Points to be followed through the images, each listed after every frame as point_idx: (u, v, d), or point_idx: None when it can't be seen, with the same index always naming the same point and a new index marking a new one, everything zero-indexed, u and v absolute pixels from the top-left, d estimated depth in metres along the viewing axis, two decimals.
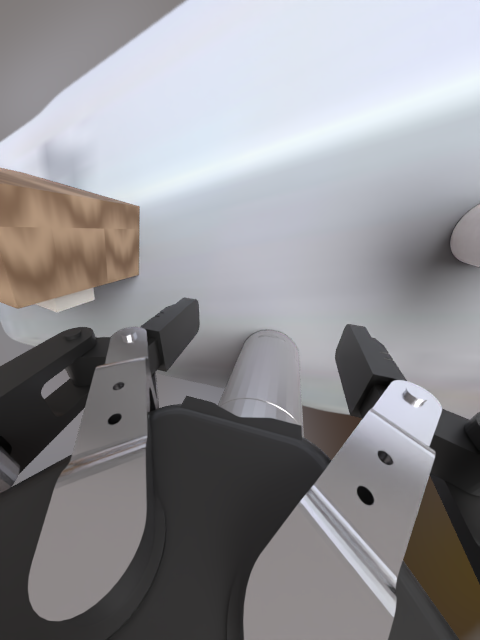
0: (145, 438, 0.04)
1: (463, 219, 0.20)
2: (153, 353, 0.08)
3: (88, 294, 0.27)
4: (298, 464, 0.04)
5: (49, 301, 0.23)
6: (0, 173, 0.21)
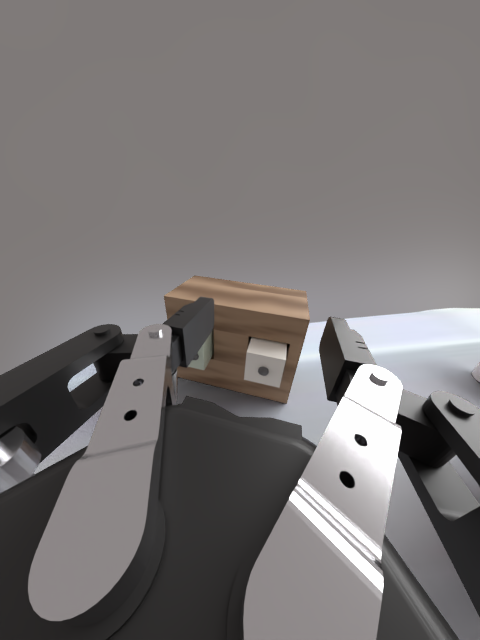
0: (145, 438, 0.04)
1: (475, 375, 0.40)
2: (176, 350, 0.08)
3: None
4: (298, 464, 0.04)
5: (279, 352, 0.25)
6: None
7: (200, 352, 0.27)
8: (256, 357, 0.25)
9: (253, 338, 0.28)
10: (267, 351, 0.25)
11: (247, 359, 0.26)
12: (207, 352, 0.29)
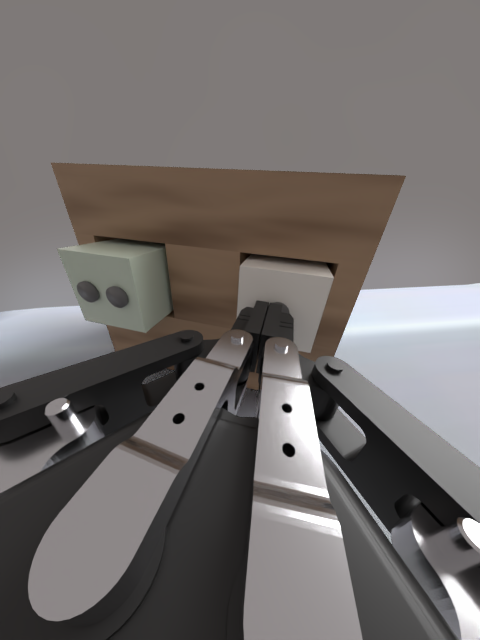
0: (145, 438, 0.04)
1: None
2: (252, 354, 0.08)
3: None
4: None
5: (314, 269, 0.11)
6: None
7: (128, 286, 0.12)
8: (261, 280, 0.11)
9: (255, 254, 0.14)
10: (288, 267, 0.11)
11: (242, 286, 0.12)
12: (153, 295, 0.13)
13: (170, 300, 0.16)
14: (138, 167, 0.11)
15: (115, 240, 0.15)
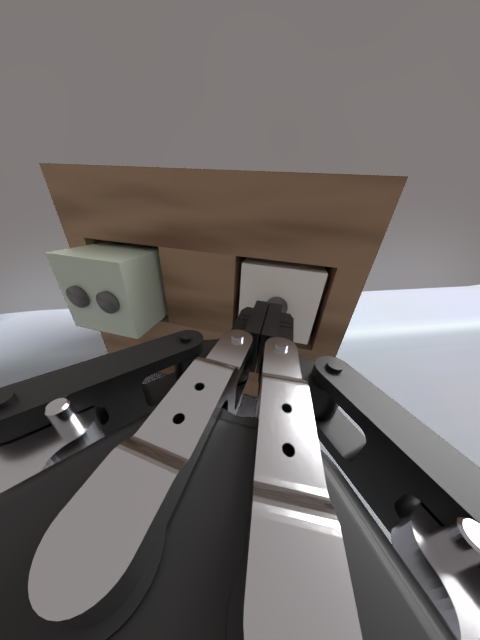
0: (145, 438, 0.04)
1: None
2: (252, 354, 0.08)
3: None
4: None
5: (310, 266, 0.12)
6: None
7: (119, 291, 0.11)
8: (262, 276, 0.12)
9: None
10: (286, 264, 0.12)
11: (243, 282, 0.12)
12: (146, 299, 0.13)
13: (164, 304, 0.15)
14: (129, 167, 0.11)
15: (107, 243, 0.15)
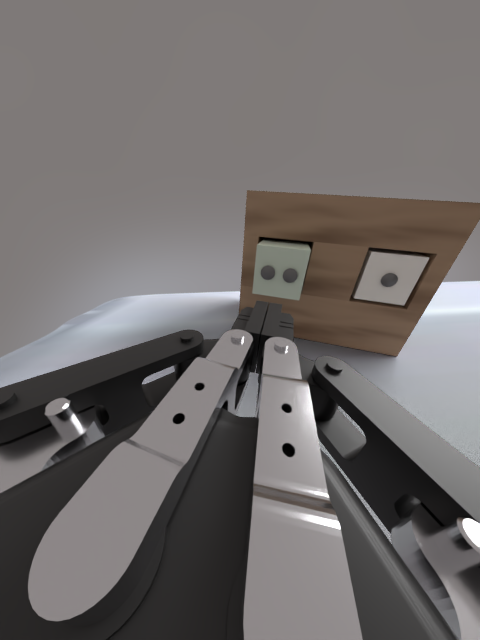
0: (145, 438, 0.04)
1: None
2: (251, 354, 0.08)
3: None
4: None
5: (413, 254, 0.20)
6: None
7: (301, 268, 0.19)
8: (383, 259, 0.19)
9: None
10: (397, 253, 0.20)
11: (369, 264, 0.20)
12: None
13: None
14: (313, 194, 0.18)
15: (267, 240, 0.22)
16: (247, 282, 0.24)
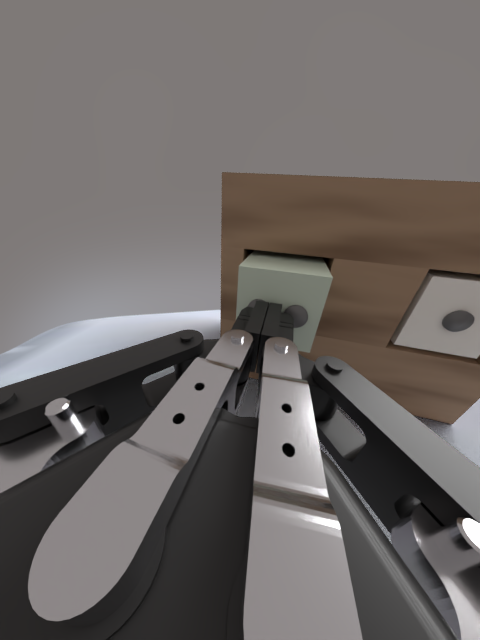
0: (145, 438, 0.04)
1: None
2: (252, 354, 0.08)
3: None
4: None
5: None
6: None
7: (314, 306, 0.11)
8: (452, 289, 0.12)
9: None
10: (474, 277, 0.12)
11: (426, 295, 0.12)
12: None
13: None
14: (336, 178, 0.10)
15: (258, 252, 0.14)
16: (230, 315, 0.16)
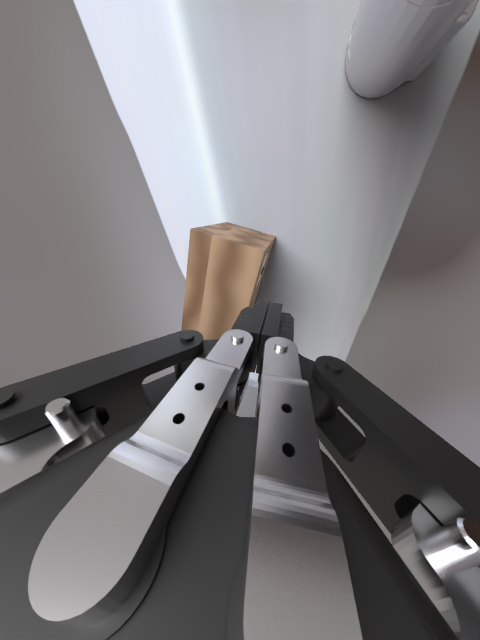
0: (145, 438, 0.04)
1: None
2: (252, 354, 0.08)
3: None
4: None
5: None
6: None
7: None
8: (258, 280, 0.32)
9: None
10: None
11: None
12: None
13: None
14: None
15: None
16: None
